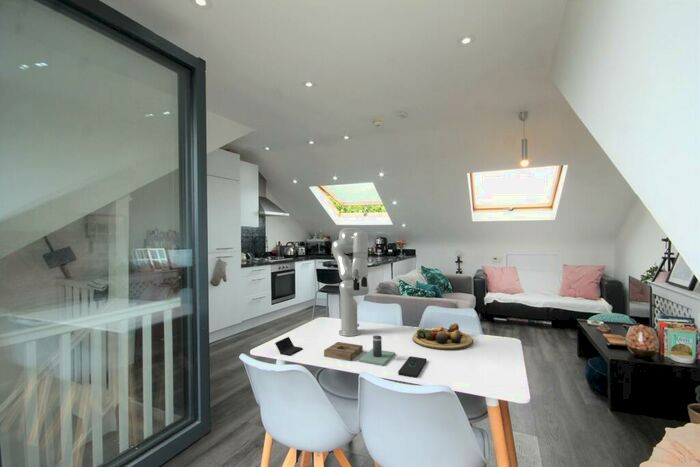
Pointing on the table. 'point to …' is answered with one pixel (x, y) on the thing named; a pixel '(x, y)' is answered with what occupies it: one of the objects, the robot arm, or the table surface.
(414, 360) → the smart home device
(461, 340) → the wooden plate with food
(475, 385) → the table surface
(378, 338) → the plug
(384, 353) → the mat
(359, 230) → the robot arm
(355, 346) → the wooden block with hole
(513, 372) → the table surface
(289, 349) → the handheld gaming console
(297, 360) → the table surface
